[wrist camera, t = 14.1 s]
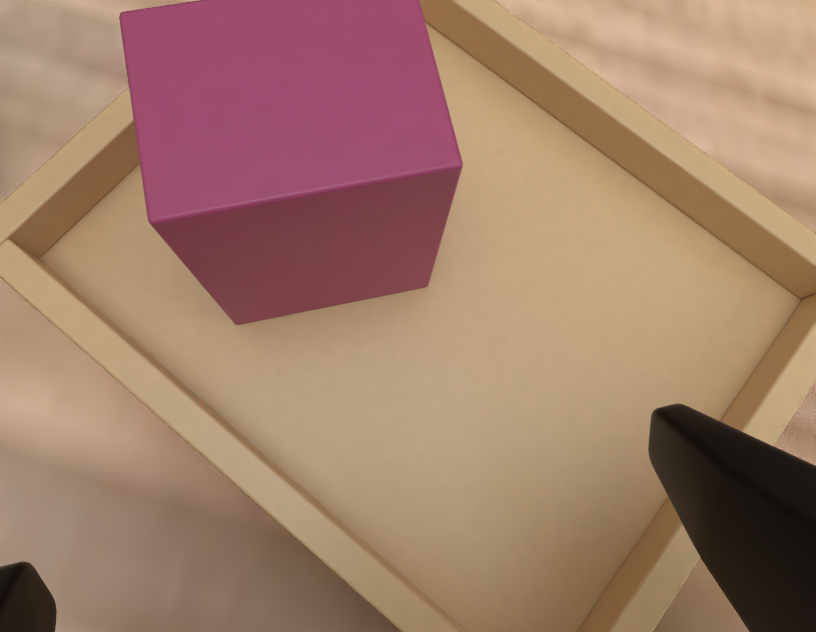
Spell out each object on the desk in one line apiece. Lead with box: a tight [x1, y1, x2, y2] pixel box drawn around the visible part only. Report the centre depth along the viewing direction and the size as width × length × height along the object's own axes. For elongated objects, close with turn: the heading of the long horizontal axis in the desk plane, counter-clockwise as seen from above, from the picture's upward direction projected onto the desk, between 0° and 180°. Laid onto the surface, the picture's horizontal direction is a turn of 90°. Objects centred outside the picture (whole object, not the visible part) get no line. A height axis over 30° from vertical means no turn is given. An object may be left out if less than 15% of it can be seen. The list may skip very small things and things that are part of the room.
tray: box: [0, 0, 816, 632], centre depth 17 cm, size 18×14×2 cm
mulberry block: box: [119, 0, 463, 325], centre depth 15 cm, size 4×5×7 cm
